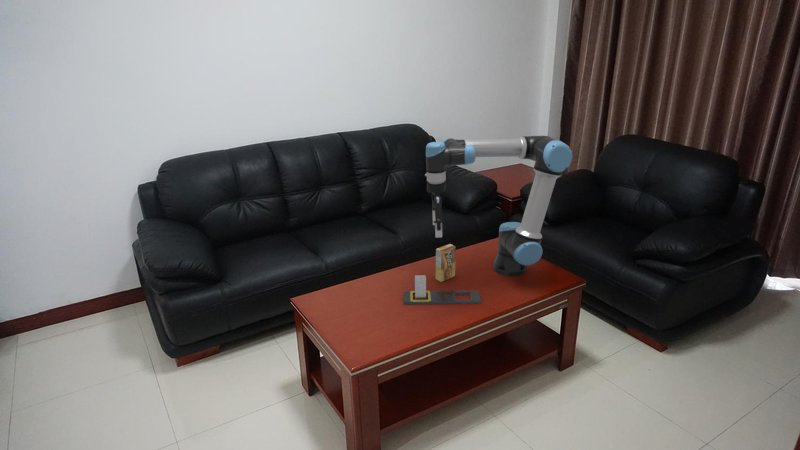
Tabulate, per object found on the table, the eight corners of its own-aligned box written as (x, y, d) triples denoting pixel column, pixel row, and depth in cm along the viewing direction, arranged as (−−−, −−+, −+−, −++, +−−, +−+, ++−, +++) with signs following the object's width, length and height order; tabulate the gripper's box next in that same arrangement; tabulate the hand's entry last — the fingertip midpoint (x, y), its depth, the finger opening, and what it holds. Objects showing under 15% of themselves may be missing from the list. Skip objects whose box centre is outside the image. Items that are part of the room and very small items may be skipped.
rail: (478, 293, 212) (478, 290, 212) (481, 303, 204) (481, 300, 203) (403, 293, 213) (403, 290, 212) (403, 304, 204) (403, 301, 204)
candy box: (448, 273, 230) (449, 243, 225) (455, 276, 227) (456, 246, 222) (435, 279, 225) (435, 248, 220) (441, 282, 222) (441, 251, 216)
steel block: (425, 296, 211) (425, 275, 207) (426, 301, 206) (426, 280, 203) (415, 296, 211) (414, 275, 207) (415, 301, 206) (415, 280, 203)
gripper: (424, 173, 208) (426, 220, 216) (428, 191, 185) (430, 243, 193) (442, 172, 208) (443, 219, 216) (448, 190, 185) (449, 242, 193)
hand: (437, 230), depth 204 cm, fingers open, 13 cm apart
